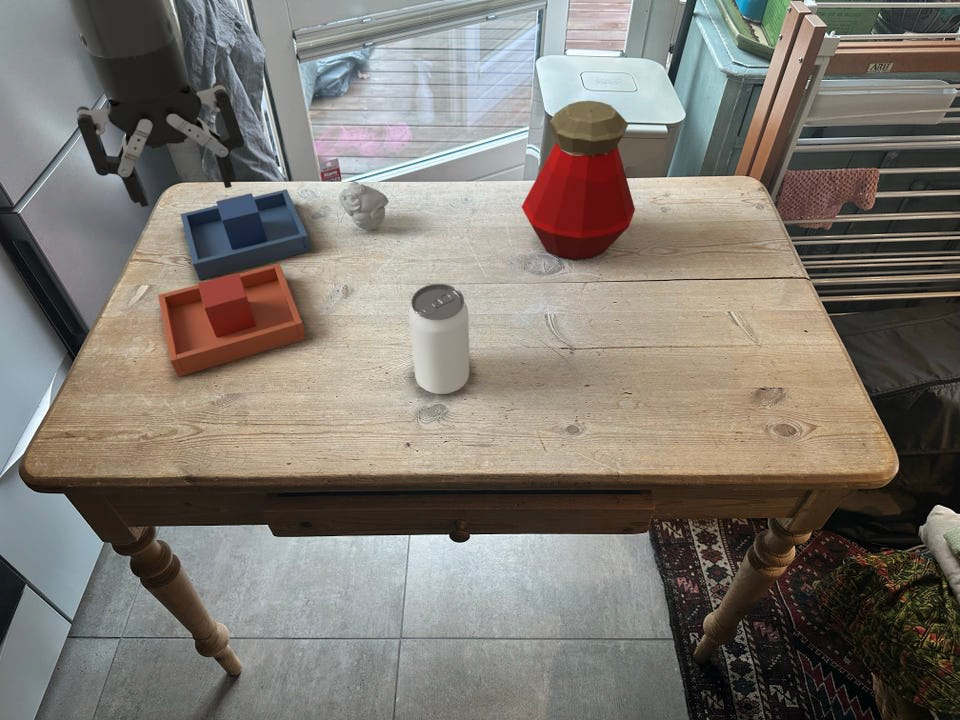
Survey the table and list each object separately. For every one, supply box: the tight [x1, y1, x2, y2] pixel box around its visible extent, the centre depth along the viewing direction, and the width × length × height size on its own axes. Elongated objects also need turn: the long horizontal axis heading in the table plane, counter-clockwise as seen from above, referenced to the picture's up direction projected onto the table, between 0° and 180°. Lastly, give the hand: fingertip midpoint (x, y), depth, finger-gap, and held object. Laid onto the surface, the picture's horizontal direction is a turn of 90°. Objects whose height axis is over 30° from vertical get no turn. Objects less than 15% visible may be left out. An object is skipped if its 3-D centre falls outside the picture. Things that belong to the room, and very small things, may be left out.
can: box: [408, 283, 470, 395], centre depth 76 cm, size 6×6×12 cm
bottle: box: [521, 100, 636, 261], centre depth 91 cm, size 16×14×20 cm
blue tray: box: [180, 188, 312, 281], centre depth 97 cm, size 16×13×3 cm
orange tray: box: [157, 262, 307, 378], centre depth 85 cm, size 16×13×3 cm
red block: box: [197, 272, 256, 337], centre depth 84 cm, size 5×5×5 cm
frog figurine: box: [338, 181, 389, 231], centre depth 98 cm, size 6×7×7 cm
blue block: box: [215, 193, 267, 249], centre depth 96 cm, size 5×5×5 cm
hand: (186, 193), depth 72 cm, fingers open, 8 cm apart
